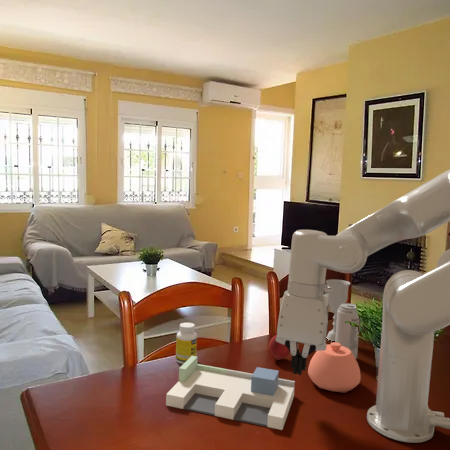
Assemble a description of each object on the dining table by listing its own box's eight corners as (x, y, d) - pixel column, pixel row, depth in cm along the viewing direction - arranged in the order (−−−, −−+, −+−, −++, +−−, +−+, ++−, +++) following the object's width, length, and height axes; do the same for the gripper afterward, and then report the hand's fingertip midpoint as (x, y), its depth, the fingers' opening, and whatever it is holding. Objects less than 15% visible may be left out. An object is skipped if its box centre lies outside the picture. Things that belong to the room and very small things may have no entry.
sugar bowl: (303, 390, 101) (305, 348, 100) (312, 366, 114) (315, 329, 113) (358, 401, 97) (361, 357, 96) (361, 375, 110) (364, 336, 109)
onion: (293, 359, 119) (294, 330, 118) (284, 366, 114) (285, 336, 113) (274, 353, 122) (275, 326, 121) (264, 360, 117) (265, 332, 116)
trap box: (294, 395, 99) (295, 372, 98) (282, 430, 85) (283, 403, 84) (191, 376, 106) (192, 355, 106) (166, 405, 93) (166, 380, 92)
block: (278, 385, 98) (278, 370, 98) (273, 396, 93) (274, 380, 93) (256, 381, 99) (257, 367, 99) (250, 391, 95) (251, 376, 94)
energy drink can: (341, 352, 125) (344, 301, 123) (360, 359, 120) (364, 306, 119) (330, 358, 120) (333, 305, 119) (350, 365, 116) (353, 310, 114)
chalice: (322, 341, 132) (326, 283, 130) (321, 334, 139) (325, 278, 137) (347, 344, 131) (351, 285, 129) (345, 336, 138) (349, 280, 135)
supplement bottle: (193, 366, 112) (194, 329, 111) (173, 363, 113) (173, 327, 112) (198, 357, 118) (199, 322, 116) (179, 355, 119) (180, 320, 118)
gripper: (343, 290, 93) (334, 371, 95) (274, 280, 97) (267, 358, 99) (341, 299, 86) (332, 387, 88) (267, 287, 90) (260, 372, 92)
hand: (298, 371), depth 94 cm, fingers closed
